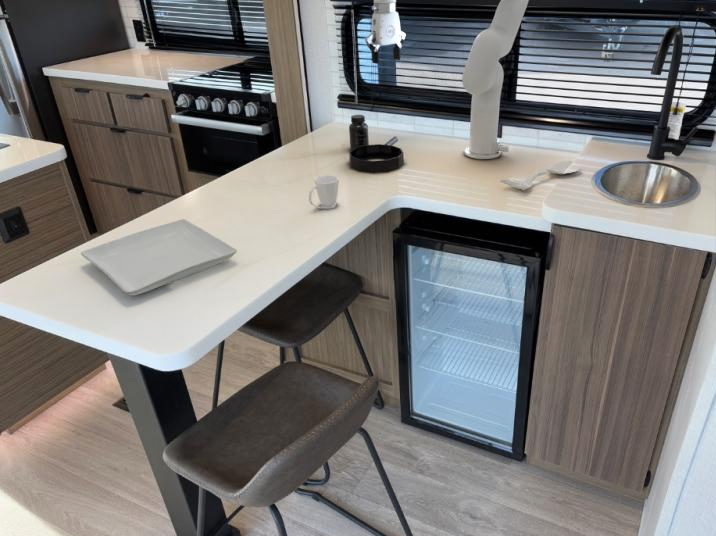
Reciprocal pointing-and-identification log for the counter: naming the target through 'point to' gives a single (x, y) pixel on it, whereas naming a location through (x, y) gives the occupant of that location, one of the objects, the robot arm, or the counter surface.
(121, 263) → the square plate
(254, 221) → the counter surface
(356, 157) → the pan
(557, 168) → the spoon
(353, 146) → the supplement bottle
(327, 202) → the cup
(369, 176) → the counter surface
